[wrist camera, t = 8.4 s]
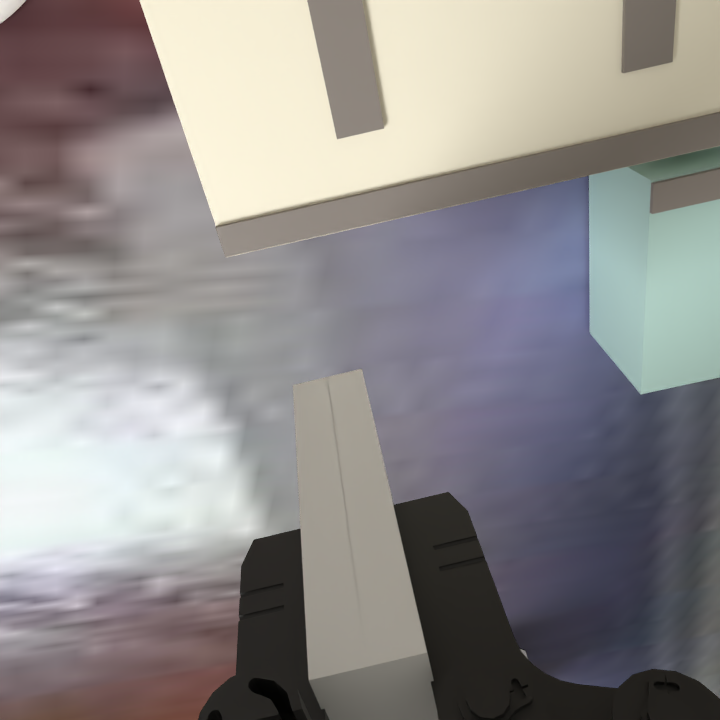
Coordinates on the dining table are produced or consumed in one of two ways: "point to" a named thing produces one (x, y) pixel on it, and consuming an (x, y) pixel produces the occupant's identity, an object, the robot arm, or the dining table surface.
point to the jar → (9, 8)
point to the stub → (657, 269)
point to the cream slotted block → (424, 101)
